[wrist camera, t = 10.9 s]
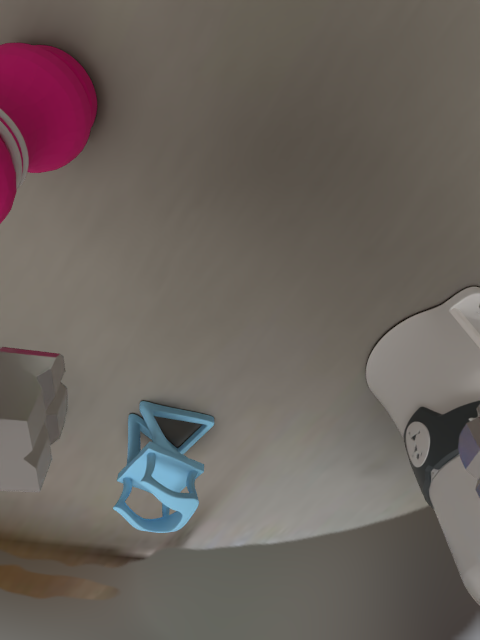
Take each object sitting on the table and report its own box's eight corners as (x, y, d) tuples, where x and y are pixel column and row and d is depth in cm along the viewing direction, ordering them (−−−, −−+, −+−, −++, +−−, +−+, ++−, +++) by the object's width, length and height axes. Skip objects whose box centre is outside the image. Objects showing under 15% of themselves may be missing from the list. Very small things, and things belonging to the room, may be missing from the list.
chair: (152, 387, 49) (134, 486, 39) (215, 417, 52) (213, 516, 43) (118, 426, 53) (94, 526, 43) (179, 452, 56) (169, 551, 46)
